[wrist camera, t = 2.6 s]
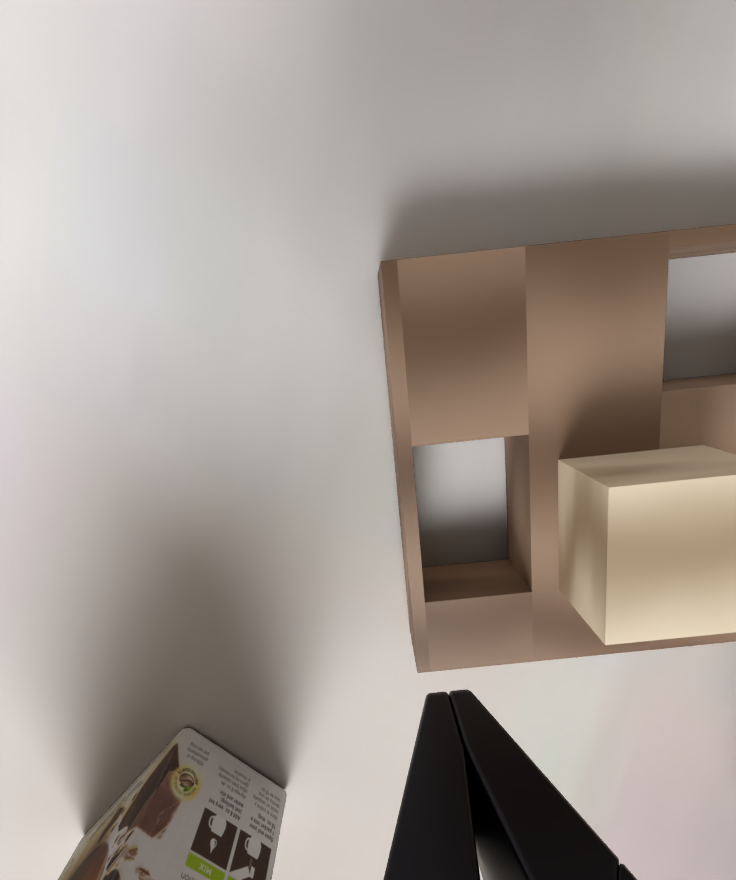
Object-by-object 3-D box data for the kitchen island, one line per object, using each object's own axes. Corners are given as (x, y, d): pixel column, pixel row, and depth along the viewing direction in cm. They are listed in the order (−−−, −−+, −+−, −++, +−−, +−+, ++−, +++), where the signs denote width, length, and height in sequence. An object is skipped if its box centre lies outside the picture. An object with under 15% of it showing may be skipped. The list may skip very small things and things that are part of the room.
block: (693, 575, 15) (771, 628, 12) (558, 589, 15) (605, 645, 12) (702, 444, 14) (790, 469, 11) (558, 459, 14) (608, 487, 11)
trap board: (972, 574, 18) (1065, 608, 16) (409, 630, 19) (417, 672, 16) (1056, 204, 15) (1189, 176, 13) (377, 275, 15) (380, 261, 13)
